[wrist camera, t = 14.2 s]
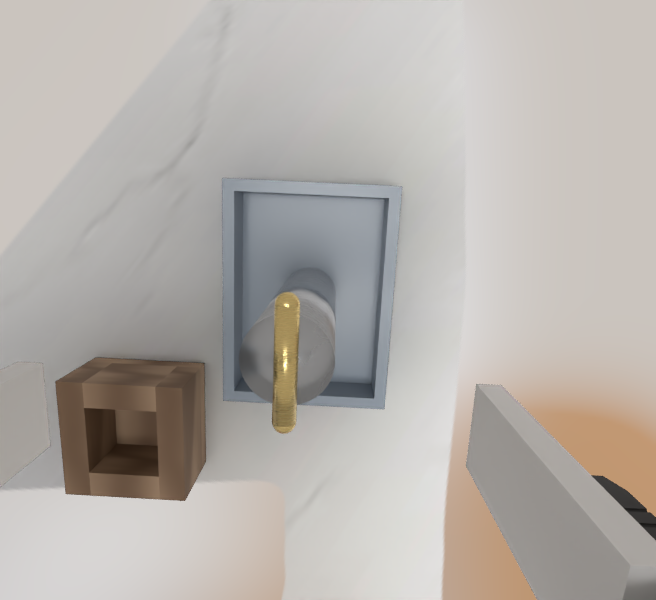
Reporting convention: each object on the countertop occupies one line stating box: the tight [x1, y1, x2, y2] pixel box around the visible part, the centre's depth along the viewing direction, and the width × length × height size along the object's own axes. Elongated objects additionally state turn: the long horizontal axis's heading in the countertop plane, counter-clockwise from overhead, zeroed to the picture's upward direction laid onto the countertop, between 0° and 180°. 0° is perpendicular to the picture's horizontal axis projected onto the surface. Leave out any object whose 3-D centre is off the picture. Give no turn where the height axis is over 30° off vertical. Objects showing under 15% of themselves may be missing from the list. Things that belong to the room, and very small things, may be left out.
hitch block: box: [55, 358, 206, 501], centre depth 33 cm, size 9×9×5 cm
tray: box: [222, 178, 402, 409], centre depth 31 cm, size 12×16×4 cm
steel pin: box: [239, 268, 336, 434], centre depth 24 cm, size 4×6×16 cm, turn 177°
